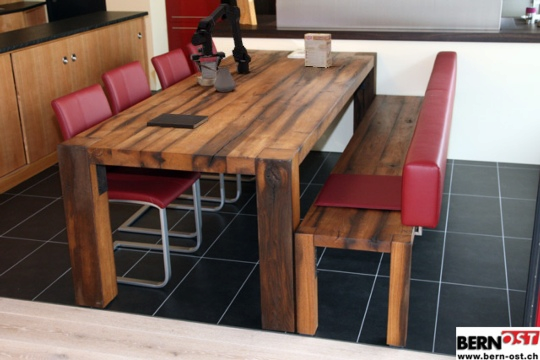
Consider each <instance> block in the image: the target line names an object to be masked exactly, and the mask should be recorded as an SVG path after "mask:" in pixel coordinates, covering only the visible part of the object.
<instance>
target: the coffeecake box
mask: <svg viewBox="0 0 540 360" xmlns="http://www.w3.org/2000/svg"><path fill="white" fill-rule="evenodd" d="M305 66H313V67H312V68H317V67H325V68H324V69H328V68H330V67H329V66H331V67H332V34H331V33H317V32H316V33H313V32H312V33H310V32H308V33H305V34H304V67H305ZM327 67H328V68H327Z"/></svg>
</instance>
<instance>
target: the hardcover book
mask: <svg viewBox="0 0 540 360" xmlns="http://www.w3.org/2000/svg"><path fill="white" fill-rule="evenodd" d="M208 119H209V115H204V114H203V115H199V114H182V113H180V114H179V113H165V112H164V113H162V114H159V115H158V116H155V117H154V118H151V119H150V120H149V121H146V126H147V127H154V126H161V127H160V128H170V127H173V128H174V129H187V130H188V129H189V130H190V129H191V130H194V129H196V128H197V127H199V126H200V125H202V124H203V123H205V122H207V121H209V120H208ZM173 128H172V129H173Z"/></svg>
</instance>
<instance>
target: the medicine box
mask: <svg viewBox="0 0 540 360" xmlns="http://www.w3.org/2000/svg"><path fill="white" fill-rule="evenodd" d="M200 63H201V64H202V65H205V66H207V67H209V68H211V69H214V70H216V61H201V62H200ZM216 71H217V70H216ZM200 73H201V76H202V78H216V77H217V75H218V73H217V72H215V71H212V70H210V69H207V68H204V67H202V66H201V72H200Z"/></svg>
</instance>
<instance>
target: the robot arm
mask: <svg viewBox="0 0 540 360" xmlns="http://www.w3.org/2000/svg"><path fill="white" fill-rule="evenodd" d="M224 14H225V17H226V20H228V21H229V23H230V28H231V33H232V39H233V44H234V47H233V49H232V50H231V53H232V58H233V59H234V63H237V64H236V72H237V74H240V75H241V74H250V73H251V72H250V64H251V62H252V57H251V56H250V54H249V53H248V50H247V47H245V45H244V42H243V38H242V37H243V36H242V31H241V26H240V19H241V16H242V15H241V8H240V7H239V6H235V5H230V4H228V3H220V4H219V5H218V6H217V8H215V10H214V11H212V12H211V14H209V16H206V17H204V18H202V19H200V20H199V22H198V25H197V28H196V30H195V32H194V33H193V35H191V38H190V43H191V45H192V46H193V47H197V48H196V49H197V53H192V54H190V60H191V61H193V62H194V63H195V64H196V63H199V64H201V63H202V62H201V60H200V59H207V58H208V59H209V58H215V59H216V61H215V62H216V71H219V68H218V66H221V62H222V60H224V59H225V58H226V53H225V52H223V51H216V53H214V50H213V49H214V47H213V46H214V45H213V37H212V36H213V35H214V34H215V32H214V31H213V29H214V27H216V23H217V22H218V21H219V20H220V19H221V18H222V16H223V15H224ZM249 63H250V64H249ZM196 66H197V67H198V69H199V72H200V73H202V72H201V66H199V65H198V64H197V65H196Z"/></svg>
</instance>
